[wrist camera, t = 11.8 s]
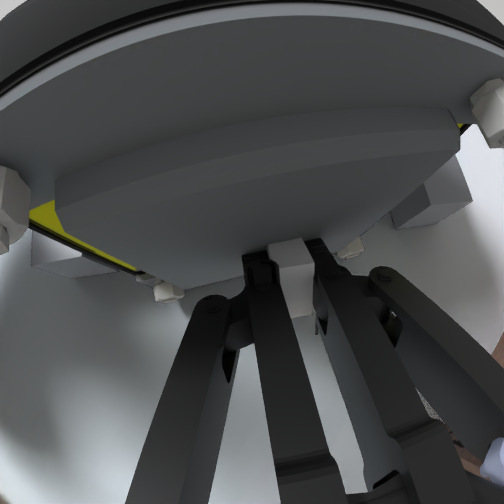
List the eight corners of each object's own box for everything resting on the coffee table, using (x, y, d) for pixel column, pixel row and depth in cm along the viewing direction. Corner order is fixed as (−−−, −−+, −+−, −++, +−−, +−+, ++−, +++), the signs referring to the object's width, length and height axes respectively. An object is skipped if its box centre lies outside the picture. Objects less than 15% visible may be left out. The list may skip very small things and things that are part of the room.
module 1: (72, 278, 22) (30, 266, 16) (78, 162, 25) (49, 132, 19) (118, 271, 22) (81, 256, 16) (119, 150, 25) (94, 114, 19)
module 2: (395, 229, 23) (431, 205, 17) (357, 119, 26) (376, 80, 20) (435, 223, 23) (473, 201, 17) (396, 120, 26) (419, 86, 20)
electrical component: (154, 307, 22) (-101, 249, 2) (137, 192, 24) (3, 12, 4) (365, 255, 23) (569, 113, 3) (327, 150, 25) (405, -49, 5)
